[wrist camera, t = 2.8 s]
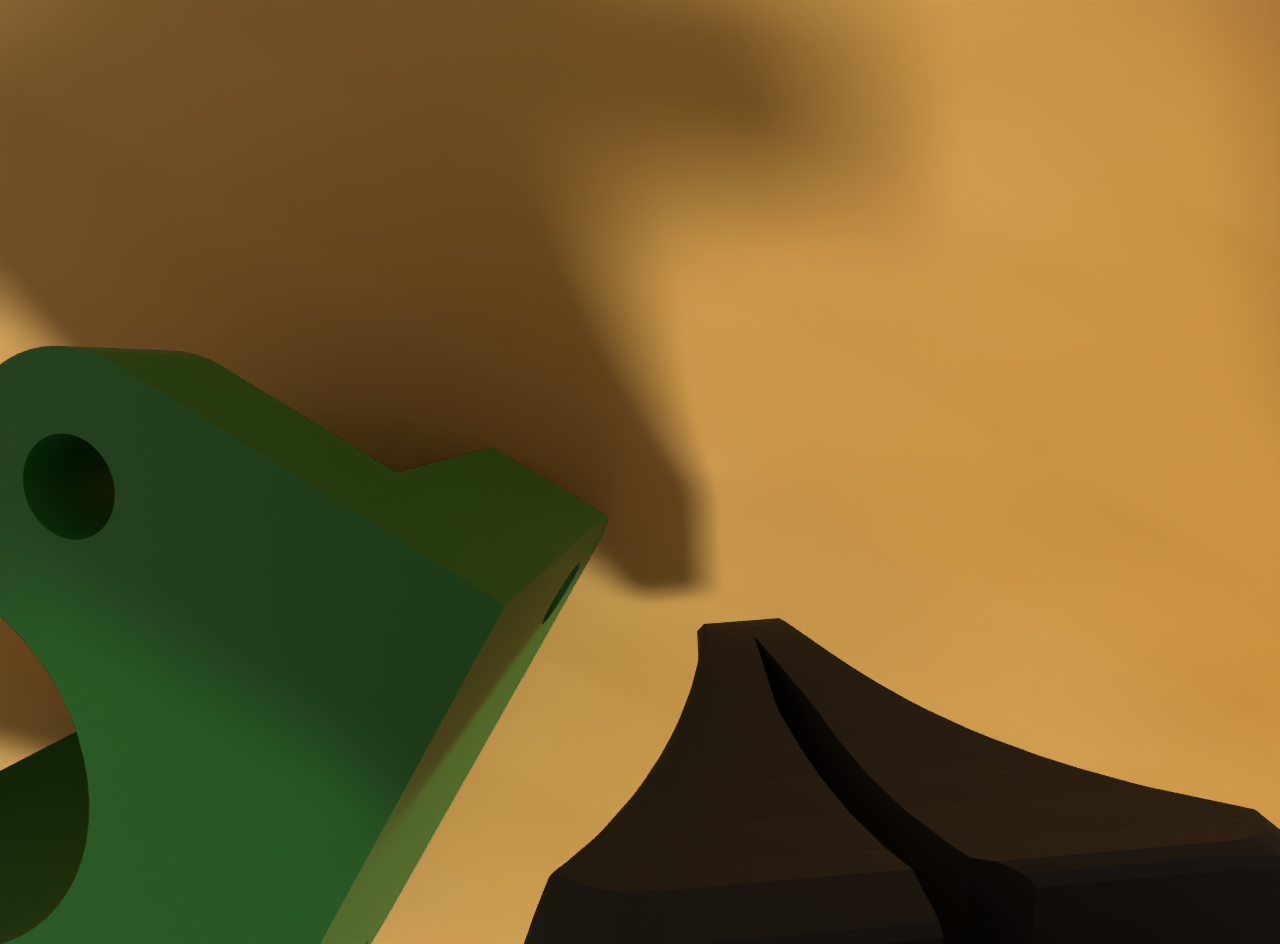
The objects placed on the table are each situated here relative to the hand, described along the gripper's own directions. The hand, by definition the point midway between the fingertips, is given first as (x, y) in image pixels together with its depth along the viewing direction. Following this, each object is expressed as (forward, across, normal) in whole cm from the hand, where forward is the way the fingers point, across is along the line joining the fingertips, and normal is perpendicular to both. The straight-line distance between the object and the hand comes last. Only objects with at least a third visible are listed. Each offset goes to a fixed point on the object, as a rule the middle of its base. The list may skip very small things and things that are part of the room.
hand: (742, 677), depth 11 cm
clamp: (+2, +8, 0) cm, 8 cm away
